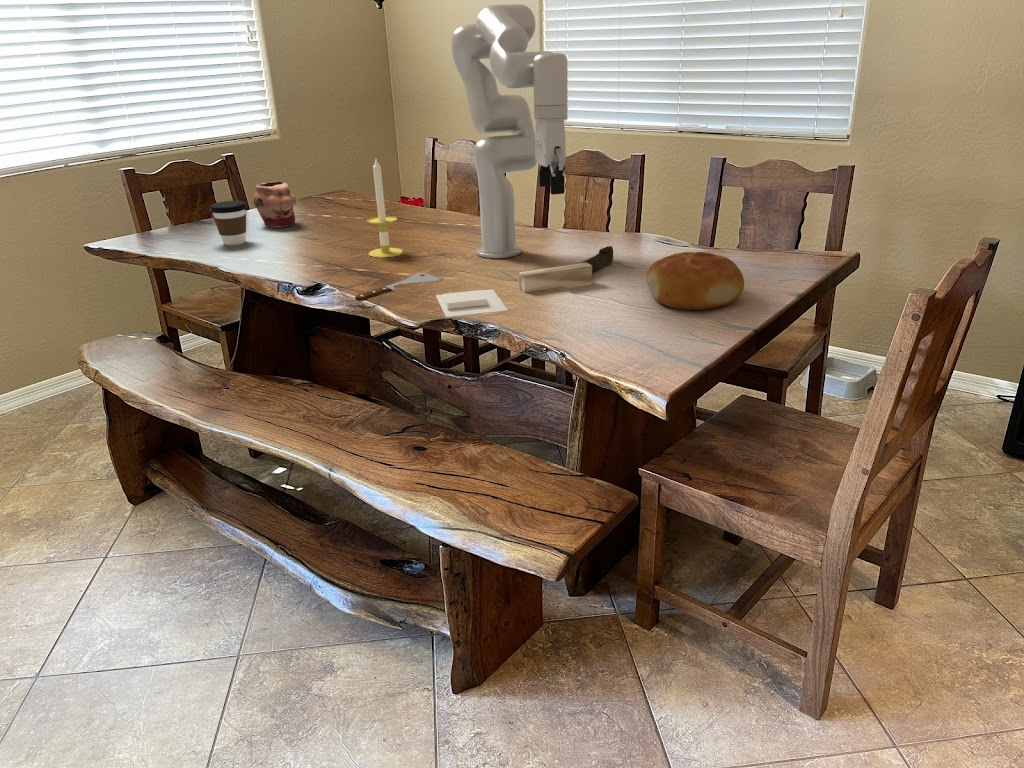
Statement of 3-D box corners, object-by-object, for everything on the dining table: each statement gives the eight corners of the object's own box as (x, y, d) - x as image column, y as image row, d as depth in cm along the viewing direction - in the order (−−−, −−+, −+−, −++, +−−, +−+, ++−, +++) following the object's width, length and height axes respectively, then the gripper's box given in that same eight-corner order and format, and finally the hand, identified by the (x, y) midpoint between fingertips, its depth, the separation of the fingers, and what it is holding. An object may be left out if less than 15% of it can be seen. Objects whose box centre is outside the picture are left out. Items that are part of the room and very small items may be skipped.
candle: (361, 256, 223) (349, 159, 212) (381, 247, 231) (372, 153, 220) (389, 259, 219) (379, 160, 207) (409, 250, 227) (401, 155, 215)
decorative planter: (244, 224, 264) (236, 183, 258) (274, 217, 273) (267, 177, 267) (280, 232, 253) (273, 188, 247) (310, 224, 261) (304, 182, 255)
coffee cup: (258, 238, 246) (252, 200, 241) (244, 247, 236) (237, 207, 231) (225, 238, 247) (218, 200, 242) (210, 247, 237) (202, 208, 232)
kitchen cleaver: (375, 304, 182) (348, 294, 188) (375, 308, 183) (348, 298, 189) (449, 279, 199) (422, 271, 205) (449, 283, 199) (422, 274, 205)
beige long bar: (519, 292, 189) (519, 272, 187) (586, 282, 195) (586, 262, 193) (524, 295, 186) (523, 275, 184) (591, 285, 192) (592, 265, 190)
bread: (621, 300, 181) (622, 258, 177) (679, 277, 196) (681, 237, 191) (706, 322, 166) (709, 276, 162) (762, 295, 181) (767, 253, 176)
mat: (435, 297, 186) (435, 295, 186) (493, 291, 189) (493, 289, 189) (446, 319, 172) (446, 317, 172) (508, 312, 175) (508, 310, 175)
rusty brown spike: (584, 280, 196) (585, 262, 194) (571, 278, 198) (571, 260, 196) (621, 262, 209) (622, 245, 207) (608, 260, 211) (609, 243, 210)
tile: (480, 296, 184) (442, 300, 182) (480, 290, 183) (442, 294, 182) (486, 305, 178) (447, 310, 176) (486, 299, 177) (447, 303, 175)
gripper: (525, 110, 182) (526, 184, 189) (545, 117, 167) (546, 198, 174) (556, 108, 184) (556, 182, 191) (578, 115, 168) (578, 195, 175)
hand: (551, 190), depth 182 cm, fingers open, 9 cm apart
